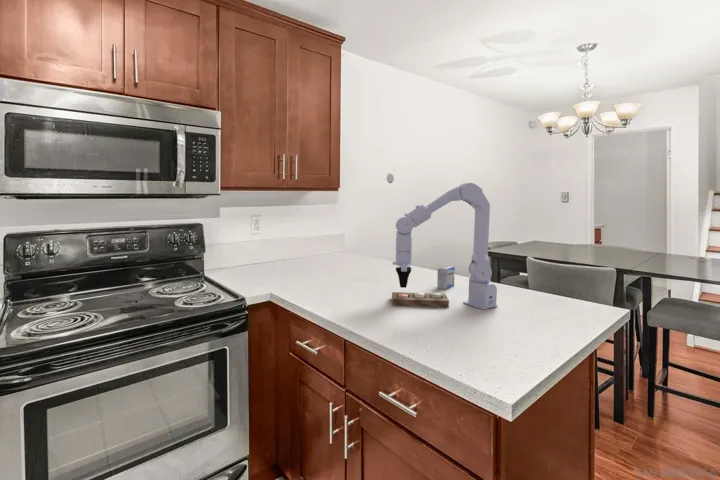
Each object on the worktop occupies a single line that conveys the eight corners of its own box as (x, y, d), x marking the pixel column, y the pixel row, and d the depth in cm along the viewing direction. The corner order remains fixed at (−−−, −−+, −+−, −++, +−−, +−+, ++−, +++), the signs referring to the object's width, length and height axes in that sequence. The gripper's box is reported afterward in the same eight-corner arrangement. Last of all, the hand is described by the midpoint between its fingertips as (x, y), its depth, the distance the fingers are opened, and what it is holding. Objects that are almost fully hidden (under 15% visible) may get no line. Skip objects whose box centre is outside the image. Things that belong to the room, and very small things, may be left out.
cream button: (423, 299, 146) (424, 292, 146) (424, 301, 142) (424, 294, 142) (414, 298, 146) (414, 292, 146) (414, 301, 143) (414, 294, 142)
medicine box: (446, 289, 165) (447, 269, 164) (436, 288, 167) (437, 268, 166) (454, 286, 171) (455, 266, 170) (444, 284, 174) (445, 265, 173)
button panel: (445, 300, 149) (445, 293, 148) (448, 307, 139) (448, 300, 138) (391, 298, 150) (392, 292, 150) (391, 306, 140) (391, 299, 140)
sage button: (440, 299, 145) (440, 292, 145) (441, 302, 142) (441, 295, 142) (430, 299, 146) (430, 292, 145) (431, 301, 142) (431, 295, 142)
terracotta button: (407, 300, 147) (407, 294, 146) (407, 303, 143) (408, 296, 143) (397, 300, 147) (397, 293, 147) (397, 302, 143) (398, 296, 143)
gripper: (392, 247, 150) (392, 282, 152) (392, 253, 136) (392, 291, 137) (411, 247, 150) (410, 282, 151) (413, 253, 135) (412, 292, 137)
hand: (403, 287), depth 144 cm, fingers closed
